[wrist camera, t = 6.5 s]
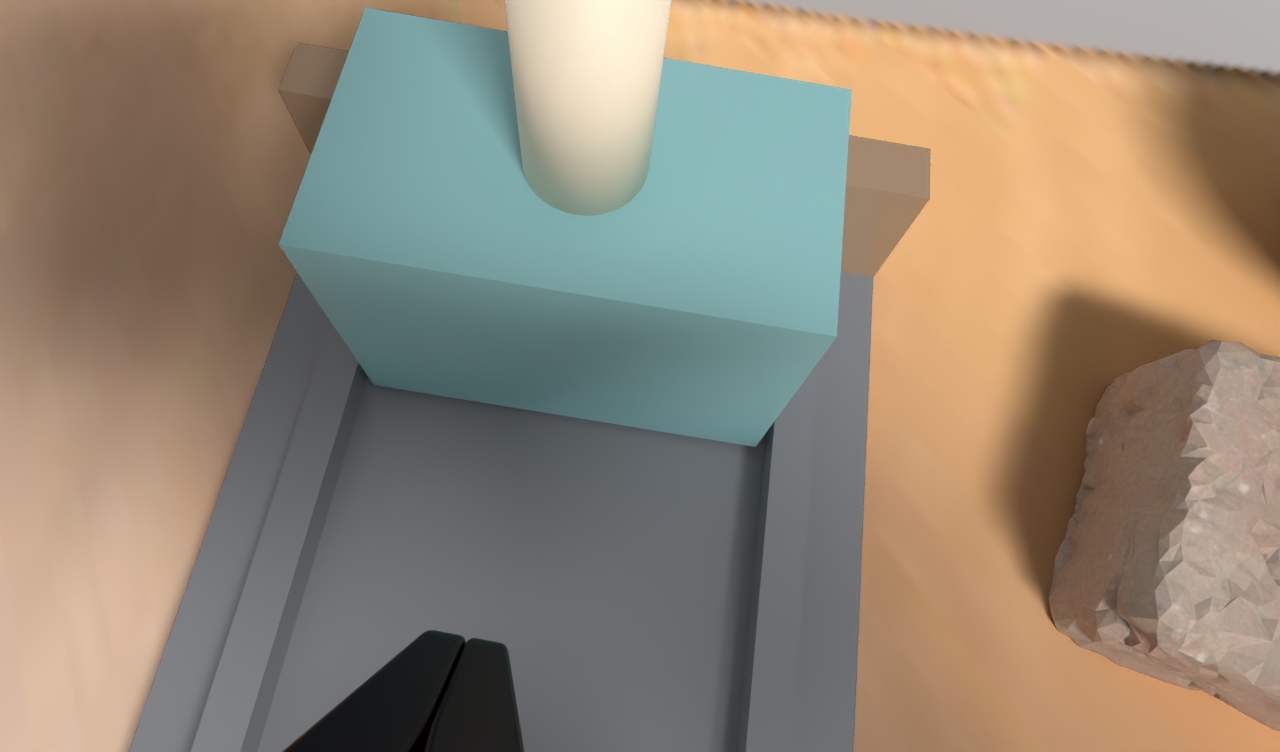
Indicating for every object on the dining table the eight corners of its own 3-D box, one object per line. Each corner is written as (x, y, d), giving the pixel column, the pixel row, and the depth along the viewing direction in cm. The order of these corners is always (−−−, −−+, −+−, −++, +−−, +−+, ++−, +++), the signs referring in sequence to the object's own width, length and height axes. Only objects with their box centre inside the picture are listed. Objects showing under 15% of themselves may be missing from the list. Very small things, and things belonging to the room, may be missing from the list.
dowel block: (755, 446, 21) (962, 164, 9) (373, 384, 20) (129, 24, 9) (773, 260, 23) (961, -151, 12) (427, 203, 23) (278, -269, 11)
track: (826, 981, 18) (919, 1092, 13) (114, 872, 18) (-63, 941, 13) (862, 251, 25) (930, 145, 20) (353, 166, 25) (298, 39, 20)
